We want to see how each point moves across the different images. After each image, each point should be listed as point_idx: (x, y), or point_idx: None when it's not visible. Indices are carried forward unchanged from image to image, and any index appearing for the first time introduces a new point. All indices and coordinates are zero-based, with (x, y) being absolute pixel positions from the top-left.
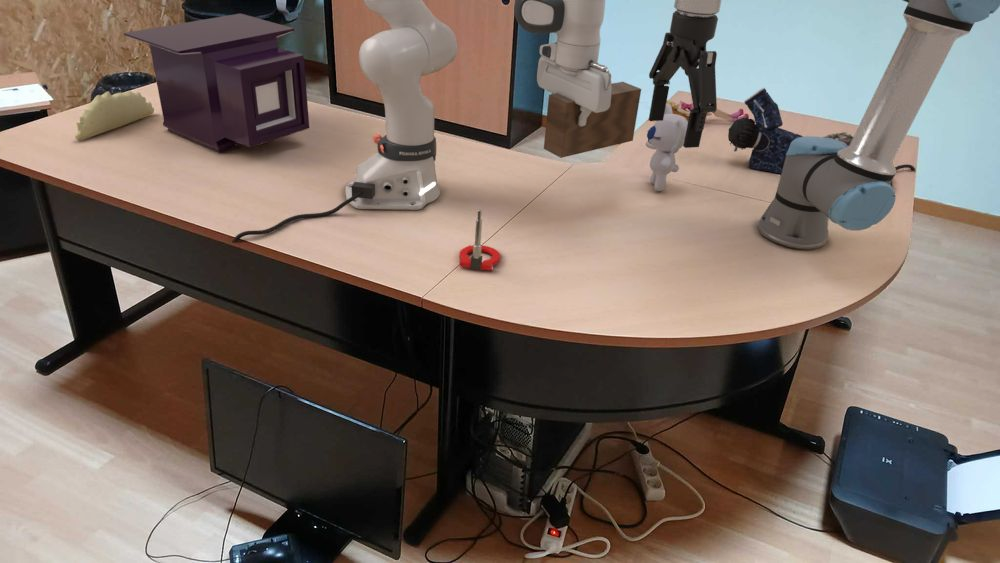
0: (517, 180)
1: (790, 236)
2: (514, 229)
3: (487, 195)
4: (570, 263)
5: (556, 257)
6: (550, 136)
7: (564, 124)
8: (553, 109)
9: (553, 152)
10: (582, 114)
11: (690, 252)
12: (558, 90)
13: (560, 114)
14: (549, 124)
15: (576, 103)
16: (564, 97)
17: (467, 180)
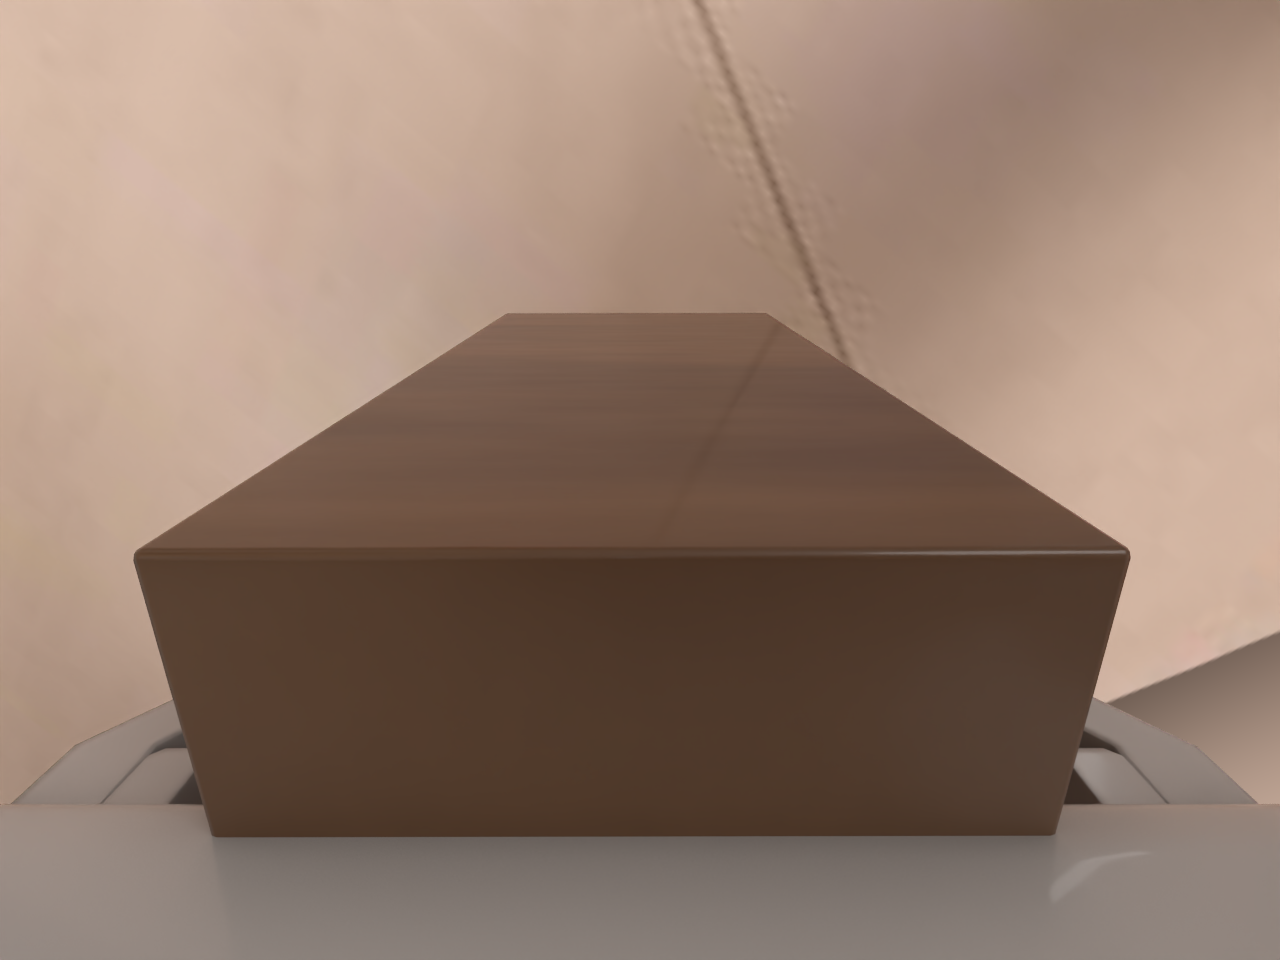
0: (1065, 444)
1: None
2: (644, 54)
3: (1042, 183)
4: (213, 85)
5: (292, 59)
6: (697, 336)
7: (398, 385)
8: (739, 426)
9: (615, 314)
10: (172, 708)
11: (136, 629)
12: (1052, 934)
13: (495, 417)
14: (758, 358)
15: (168, 806)
16: (631, 794)
17: (1257, 199)
